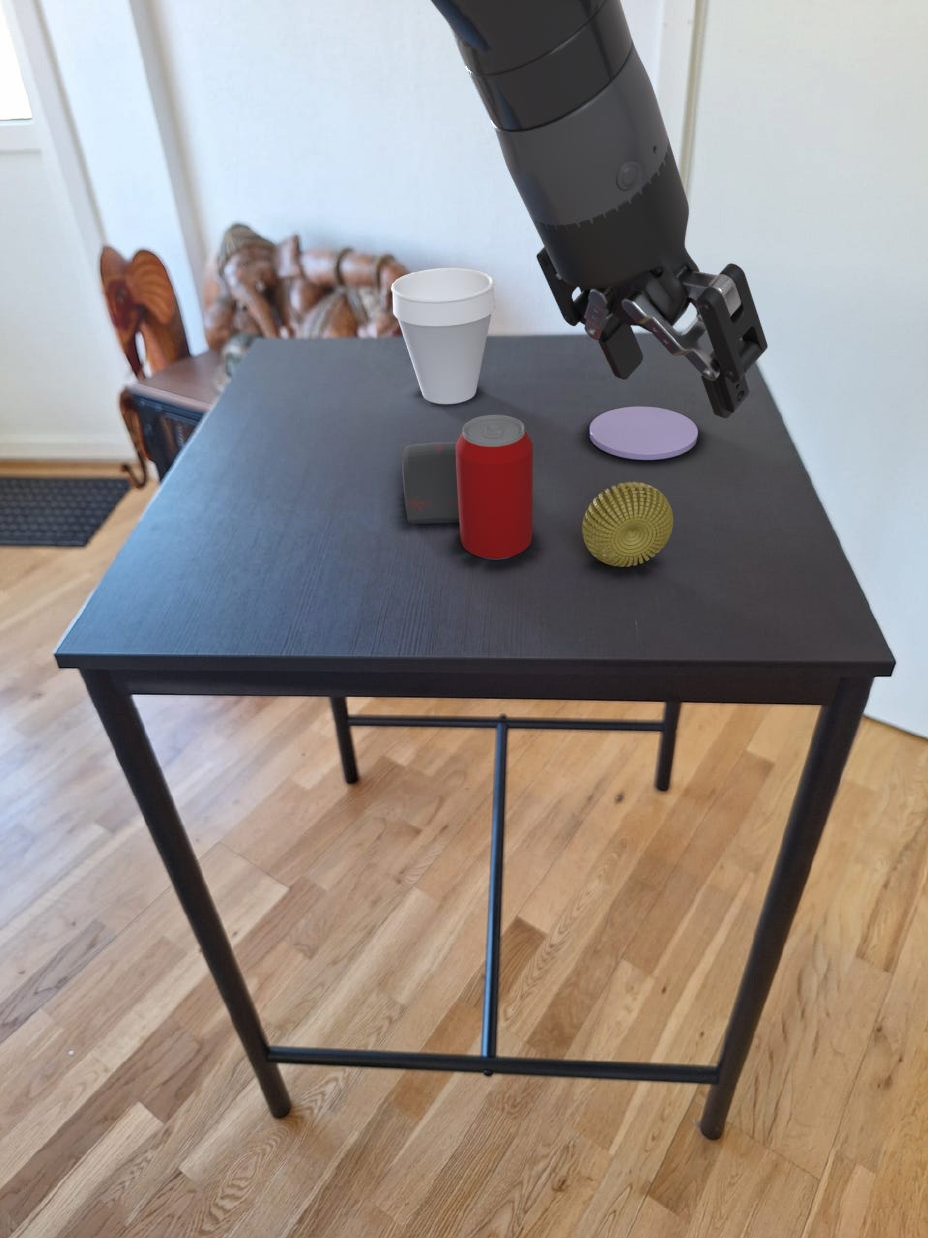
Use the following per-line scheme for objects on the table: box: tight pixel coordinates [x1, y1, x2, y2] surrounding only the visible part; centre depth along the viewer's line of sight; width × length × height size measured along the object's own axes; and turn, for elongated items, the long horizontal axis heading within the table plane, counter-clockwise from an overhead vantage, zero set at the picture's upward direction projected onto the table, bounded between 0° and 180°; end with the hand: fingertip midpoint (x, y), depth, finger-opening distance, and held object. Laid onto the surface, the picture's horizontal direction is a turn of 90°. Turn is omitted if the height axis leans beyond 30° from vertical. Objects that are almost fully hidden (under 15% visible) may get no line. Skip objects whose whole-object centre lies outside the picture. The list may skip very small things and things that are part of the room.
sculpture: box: [581, 481, 674, 568], centre depth 74 cm, size 8×4×8 cm, turn 97°
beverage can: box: [455, 414, 534, 561], centre depth 76 cm, size 7×7×12 cm
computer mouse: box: [401, 441, 460, 525], centre depth 87 cm, size 8×14×4 cm, turn 179°
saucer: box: [589, 405, 699, 461], centre depth 95 cm, size 12×12×1 cm
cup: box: [390, 267, 496, 405], centre depth 103 cm, size 12×12×14 cm
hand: (678, 387), depth 54 cm, fingers open, 8 cm apart
